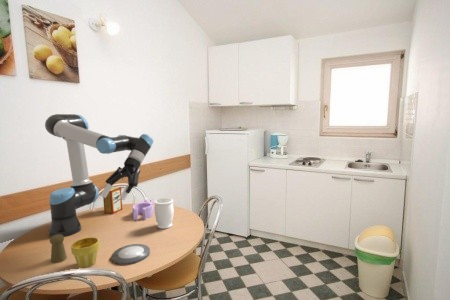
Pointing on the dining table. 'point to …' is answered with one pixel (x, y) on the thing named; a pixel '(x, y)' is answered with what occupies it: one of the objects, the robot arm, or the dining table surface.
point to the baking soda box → (113, 201)
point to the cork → (57, 249)
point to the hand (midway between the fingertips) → (112, 197)
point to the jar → (164, 212)
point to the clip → (143, 209)
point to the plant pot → (85, 251)
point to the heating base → (130, 254)
